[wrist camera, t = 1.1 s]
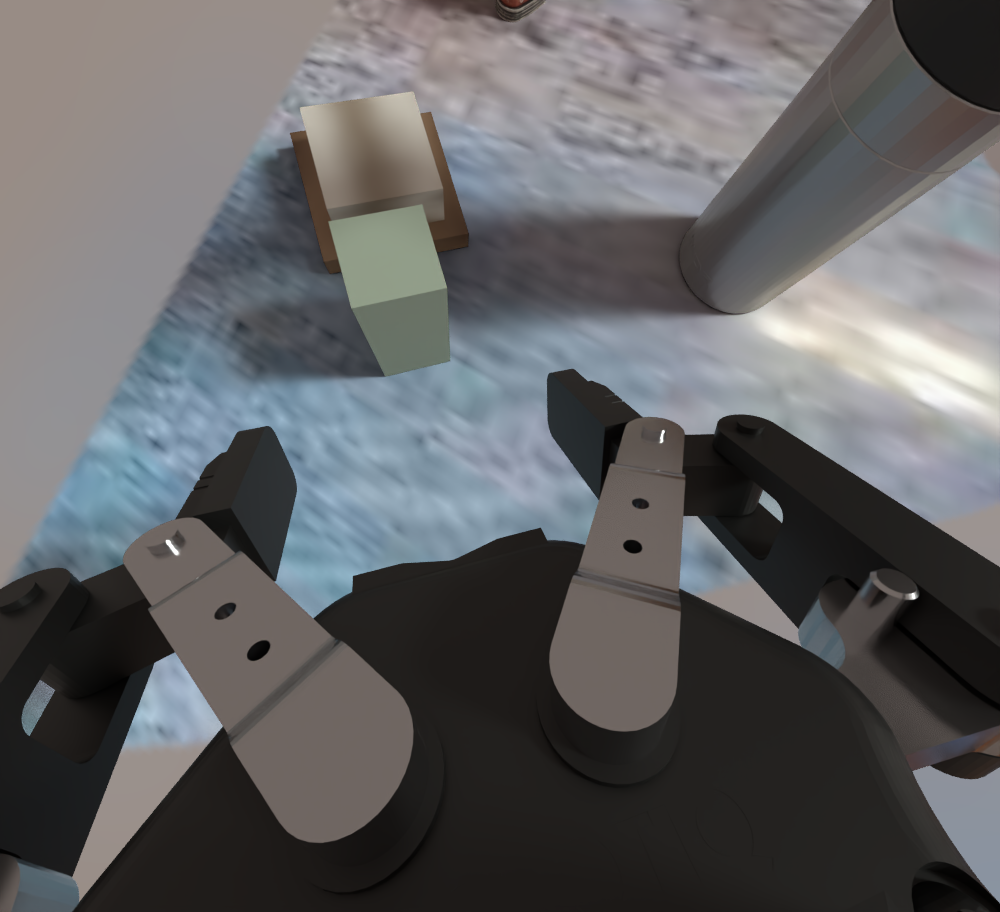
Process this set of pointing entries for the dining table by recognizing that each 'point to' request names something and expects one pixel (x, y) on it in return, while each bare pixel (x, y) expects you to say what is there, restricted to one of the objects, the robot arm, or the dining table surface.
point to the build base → (375, 167)
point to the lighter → (517, 8)
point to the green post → (395, 287)
